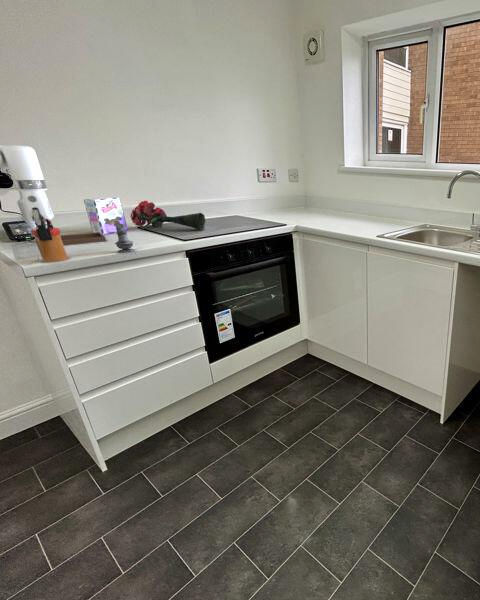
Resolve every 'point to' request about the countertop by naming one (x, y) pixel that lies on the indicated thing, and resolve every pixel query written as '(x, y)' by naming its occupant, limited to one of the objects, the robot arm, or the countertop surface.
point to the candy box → (105, 214)
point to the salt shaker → (123, 239)
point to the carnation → (163, 217)
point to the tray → (82, 238)
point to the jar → (51, 249)
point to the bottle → (25, 213)
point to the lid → (53, 231)
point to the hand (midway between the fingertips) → (48, 237)
